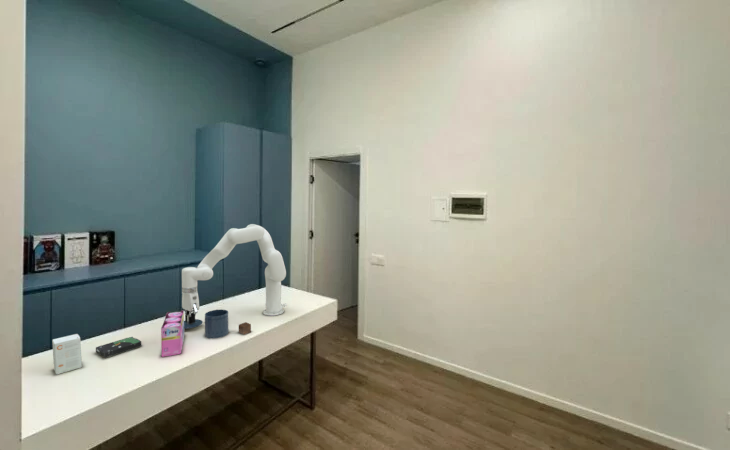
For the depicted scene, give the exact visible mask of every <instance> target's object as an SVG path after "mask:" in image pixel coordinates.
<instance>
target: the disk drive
mask: <svg viewBox="0 0 730 450" xmlns="http://www.w3.org/2000/svg"><path fill="white" fill-rule="evenodd" d="M140 347H142V341H141V340H140V339H138V338H136V337H133V336H129V337H125V338H121V339H119V340H116V341H112V342H109V343H104V344H101V345H98V346H95V353H96V354H98V355H100V357H102V358H104V359H107V358H111V357H114V356H117V355H119V354H122V353H125V352H128V351H129V352H130V351H131V350H134V349H137V348H140Z"/></svg>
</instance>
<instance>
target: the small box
mask: <svg viewBox="0 0 730 450" xmlns="http://www.w3.org/2000/svg"><path fill="white" fill-rule="evenodd" d="M81 339H82V338H81V337H80V335H79V334H78V333H74V334H70V335H66V336H61V337H58V338H53V339H52V340H51V341H52V356H53V360H52V361H53V370H54V373H55V375H60V374H63V373H66V372H71V371H73V370H77V369H80V368H82V367H83V361H82V360H83V359H82V357H83V356H82V343H81Z"/></svg>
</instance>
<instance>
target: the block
mask: <svg viewBox="0 0 730 450" xmlns="http://www.w3.org/2000/svg"><path fill="white" fill-rule="evenodd" d="M251 332H252V324H251V323H249V322H246V321H245V322H243V323H239V324H238V333H239V334H240V335H243V336H244V335H247V334H249V333H251Z"/></svg>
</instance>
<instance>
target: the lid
mask: <svg viewBox="0 0 730 450" xmlns="http://www.w3.org/2000/svg"><path fill="white" fill-rule="evenodd" d="M189 316H190V315H189V314H187V322H185V320H184V330H185V329H186V330H188V329H194V328H198V327H200V326H201V325H203V323H204V322H203V320H202V319H199V318H198V319H197V318H195V322H194V323H191V324H189Z"/></svg>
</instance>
